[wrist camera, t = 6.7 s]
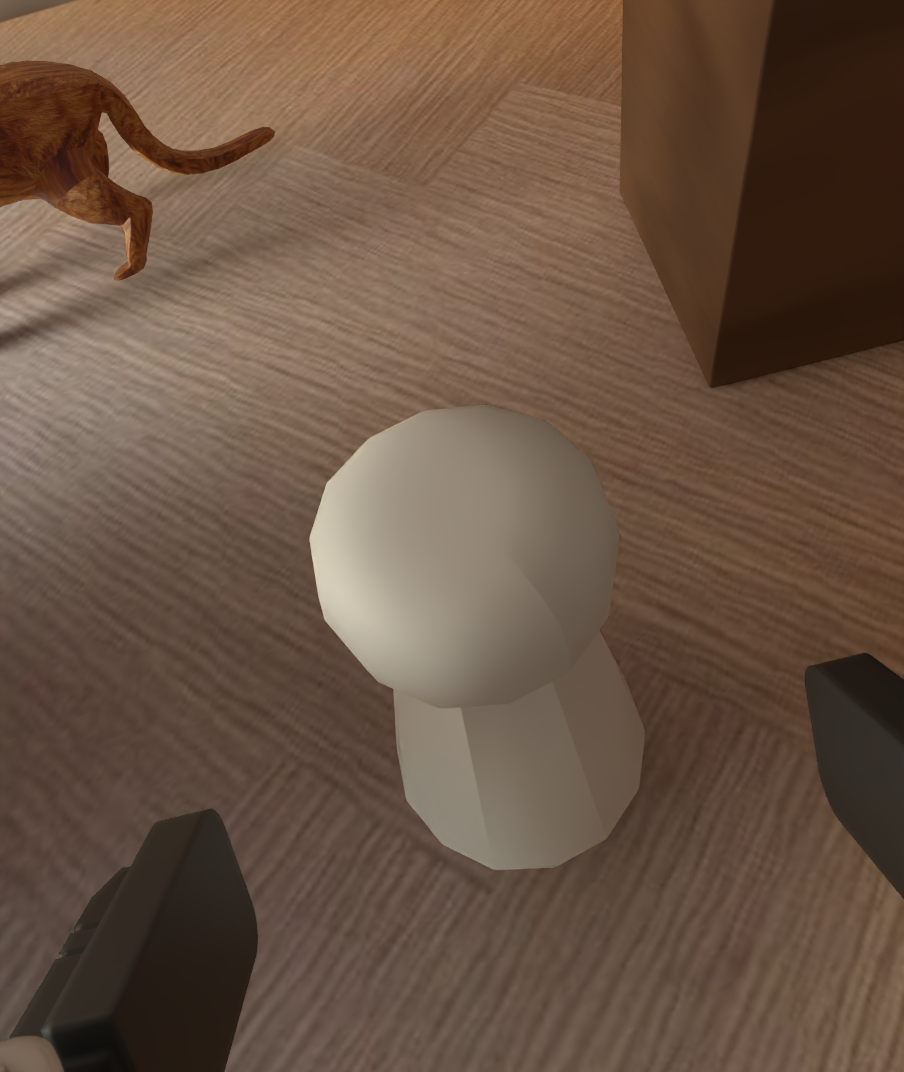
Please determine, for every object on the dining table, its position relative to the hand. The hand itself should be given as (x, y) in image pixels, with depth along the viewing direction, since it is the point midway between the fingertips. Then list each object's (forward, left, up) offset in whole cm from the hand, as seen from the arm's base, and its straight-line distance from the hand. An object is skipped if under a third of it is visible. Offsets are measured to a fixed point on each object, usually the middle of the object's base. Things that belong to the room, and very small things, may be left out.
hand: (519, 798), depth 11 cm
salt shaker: (+2, -3, -11) cm, 11 cm away
